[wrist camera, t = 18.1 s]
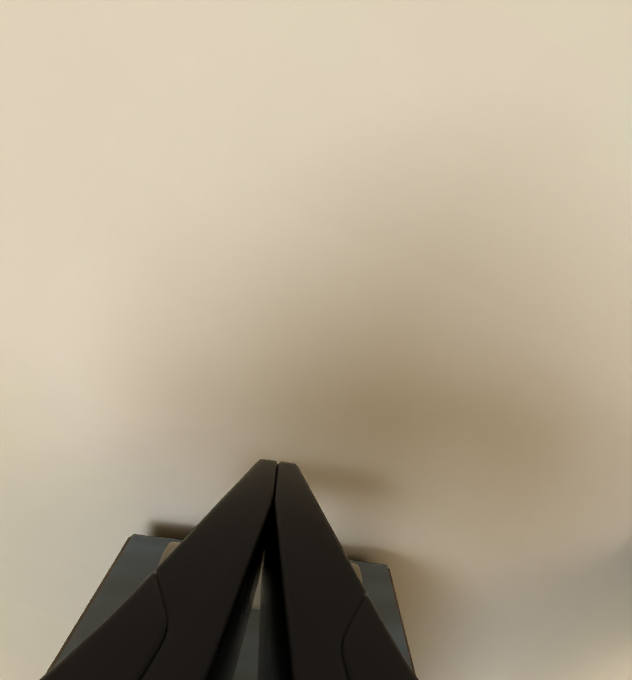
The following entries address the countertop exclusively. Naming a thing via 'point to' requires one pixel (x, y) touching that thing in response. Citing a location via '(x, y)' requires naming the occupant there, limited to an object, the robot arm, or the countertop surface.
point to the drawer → (151, 551)
